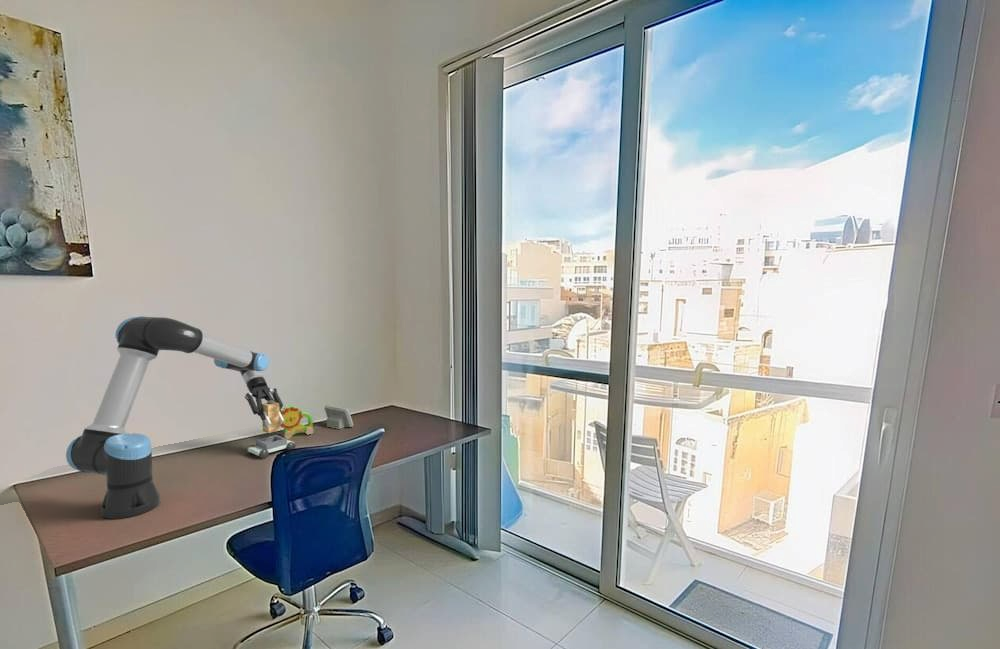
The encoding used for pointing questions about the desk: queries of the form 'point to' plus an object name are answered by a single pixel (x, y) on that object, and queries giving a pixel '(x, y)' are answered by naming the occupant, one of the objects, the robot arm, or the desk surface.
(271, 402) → the tall wooden block
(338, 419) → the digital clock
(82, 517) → the desk surface
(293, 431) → the toy lion
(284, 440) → the chassis
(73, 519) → the desk surface
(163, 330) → the robot arm
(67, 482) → the desk surface
